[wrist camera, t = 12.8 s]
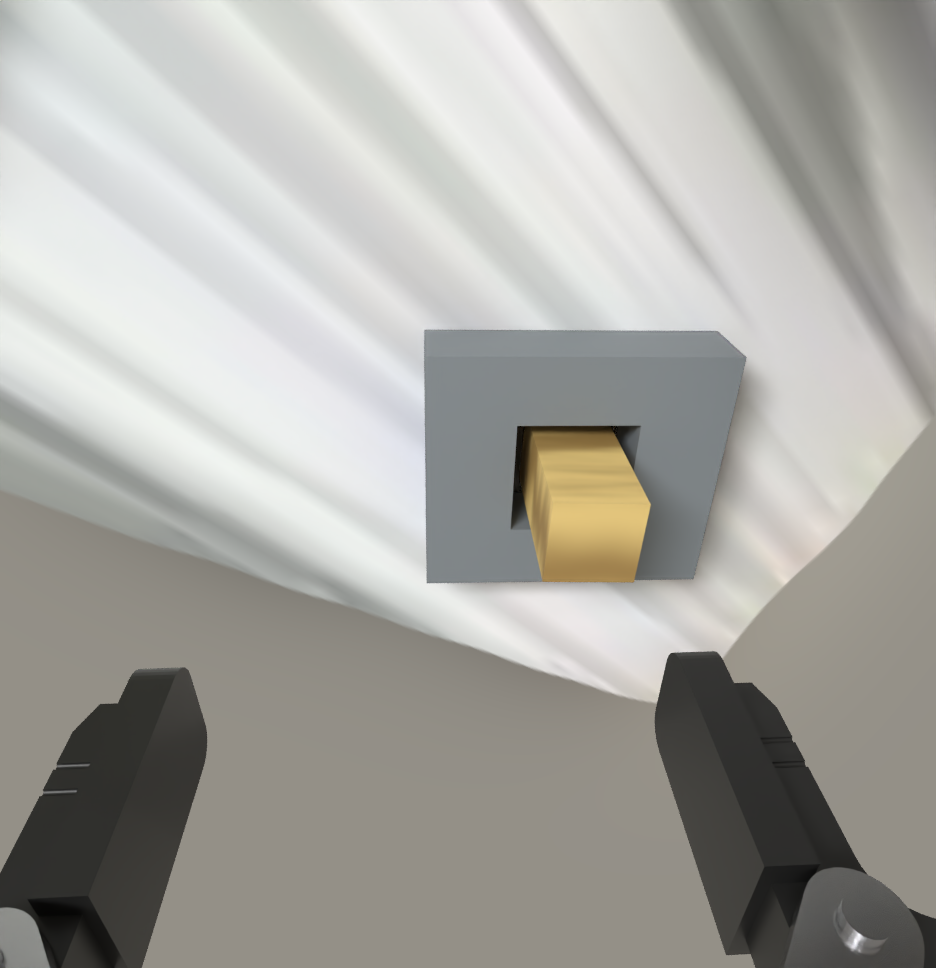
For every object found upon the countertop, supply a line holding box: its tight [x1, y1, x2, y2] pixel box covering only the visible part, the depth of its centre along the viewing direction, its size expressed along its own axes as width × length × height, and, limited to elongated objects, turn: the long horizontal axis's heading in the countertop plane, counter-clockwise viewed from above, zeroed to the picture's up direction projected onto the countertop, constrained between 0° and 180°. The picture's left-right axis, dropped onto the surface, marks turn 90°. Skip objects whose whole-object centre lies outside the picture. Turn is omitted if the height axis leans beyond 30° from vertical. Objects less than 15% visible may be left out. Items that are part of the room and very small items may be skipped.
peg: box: [519, 426, 651, 582], centre depth 37 cm, size 4×4×10 cm
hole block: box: [424, 330, 746, 583], centre depth 39 cm, size 14×16×4 cm
